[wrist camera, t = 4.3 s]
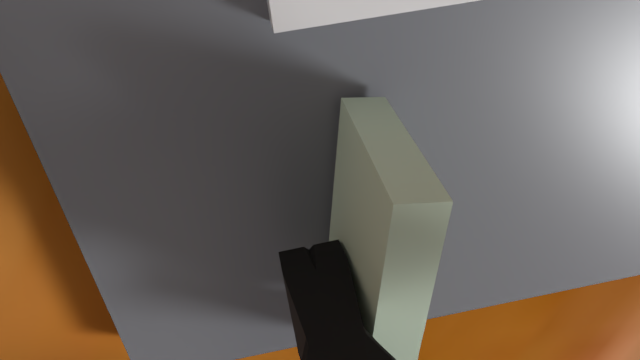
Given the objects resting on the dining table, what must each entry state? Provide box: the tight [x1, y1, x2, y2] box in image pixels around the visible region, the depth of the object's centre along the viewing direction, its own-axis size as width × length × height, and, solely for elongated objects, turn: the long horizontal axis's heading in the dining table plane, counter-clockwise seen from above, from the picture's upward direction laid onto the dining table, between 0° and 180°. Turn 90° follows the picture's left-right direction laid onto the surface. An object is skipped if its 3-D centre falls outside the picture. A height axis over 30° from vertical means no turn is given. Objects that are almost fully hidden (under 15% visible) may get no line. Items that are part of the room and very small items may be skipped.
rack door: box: [329, 97, 453, 360], centre depth 13 cm, size 8×1×4 cm, turn 177°
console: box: [0, 0, 640, 360], centre depth 13 cm, size 16×22×2 cm
